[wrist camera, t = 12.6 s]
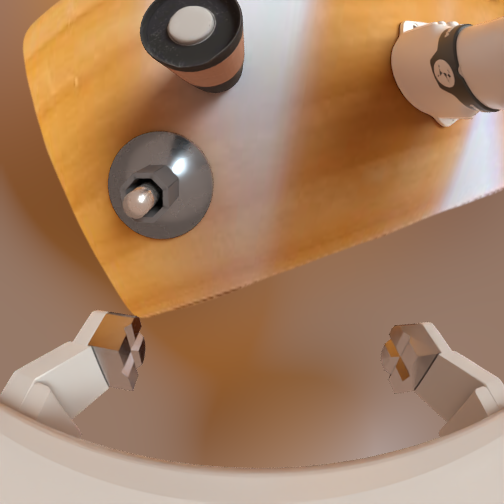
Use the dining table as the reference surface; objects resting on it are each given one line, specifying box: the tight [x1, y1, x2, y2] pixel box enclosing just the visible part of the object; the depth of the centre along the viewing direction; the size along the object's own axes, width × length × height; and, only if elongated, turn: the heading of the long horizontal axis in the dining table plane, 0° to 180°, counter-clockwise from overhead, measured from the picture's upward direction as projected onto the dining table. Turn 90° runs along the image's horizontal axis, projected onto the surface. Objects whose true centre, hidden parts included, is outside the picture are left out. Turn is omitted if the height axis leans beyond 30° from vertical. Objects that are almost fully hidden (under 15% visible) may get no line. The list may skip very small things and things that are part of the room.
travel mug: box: [140, 0, 244, 93], centre depth 23 cm, size 8×8×20 cm
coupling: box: [120, 165, 179, 223], centre depth 35 cm, size 6×6×6 cm
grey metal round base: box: [108, 131, 213, 239], centre depth 35 cm, size 16×16×10 cm
